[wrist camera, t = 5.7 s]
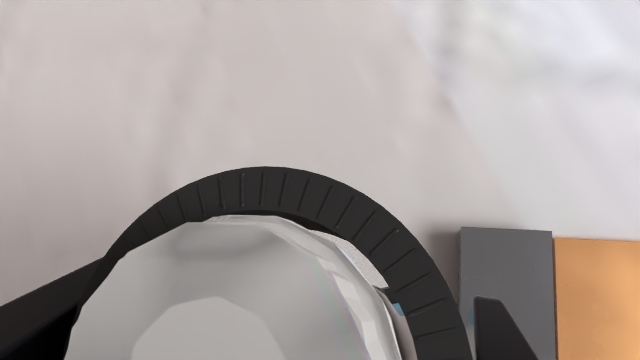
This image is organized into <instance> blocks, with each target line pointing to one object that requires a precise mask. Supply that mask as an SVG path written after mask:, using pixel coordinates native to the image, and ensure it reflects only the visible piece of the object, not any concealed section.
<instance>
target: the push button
mask: <svg viewBox="0 0 640 360" xmlns="http://www.w3.org/2000/svg"><path fill="white" fill-rule="evenodd" d="M310 230H315V231H320V232H324V233H328V234H331V235H334V236H337V237H339V238H342V239H344V240H347V241H348V242H350V243H351V244H352V245H354V246H355V247H356V248H357V249H358V250H359V251H360V252H361V253H362V254H363V255H364V256H365V257H366V258H367V259H369V261H370V262H371V263H372V264H373V265H374V267H375V268H376V269H377V270H378V271H379V273H380V274H381V275H382V276H383V278H384V279H385V281H386V283H387V284H388V286H389V287H385V288H378V287H377V286H374V285H371V284H370V283H369V282H368V280H367V279H366V278H365V276H364V275H363V274H362V273H361V271H360V270H359V269H358V267H357V266H356V265H355V263H354V262H353V261H352V260H351V258H350V257H349V256H348V255H347V254H346V253H345V252H344V251H343V250H342V249H341V248H339V247H338V246H337V245H336V244H335V243H333V242H331V241H329V240H327V239H325V238H324V237H322V236H320V235H318V234H316V233H314V232H312V231H310ZM62 360H473V357H472V353H471V348H470V344H469V340H468V336H467V332H466V329H465V326H464V323H463V320H462V317H461V315H460V312H459V309H458V306H457V304H456V302H455V300H454V298H453V296H452V293H451V291H450V289H449V287H448V285H447V283H446V281H445V280H444V278H443V276H442V275H441V273H440V271H439V270H438V268H437V266H436V265H435V263H434V262H433V260H432V258H431V257H430V256H429V255H428V253H427V252H426V251H425V249H424V248H423V247H422V245H421V244H420V243H419V241H418V240H417V239H416V238H415V237H414V236H413V235H412V234H411V233H410V231H409V230H408V229H407V228H406V227H405V226H404V225H403V224H402V223H401V222H400V221H399V220H398V219H397V218H395V217H394V216H393V215H392V214H391V213H389V212H388V211H387V210H386V209H385V208H384V207H382V206H381V205H379V204H378V203H377V202H375V201H374V200H372V199H371V198H369V197H368V196H366V195H365V194H363V193H361V192H359V191H357V190H356V189H354V188H352V187H350V186H348V185H346V184H344V183H342V182H339V181H337V180H334V179H332V178H329V177H326V176H324V175H320V174H316V173H313V172H309V171H305V170H299V169H293V168H286V167H267V166H263V167H249V168H241V169H235V170H229V171H224V172H221V173H218V174H214V175H211V176H207V177H205V178H202V179H200V180H197V181H195V182H192V183H190V184H188V185H186V186H184V187H182V188H180V189H178V190H176V191H174V192H173V193H171V194H169V195H168V196H166V197H165V198H163V199H162V200H160V201H159V202H157V203H156V204H154V205H153V206H152V207H151V208H149V209H148V210H147V211H146V212H144V213H143V214H142V215H141V216H139V217H138V218H137V219H136V220H135V221H134V222H133V223H132V224H131V225H130V226H129V227H128V228H127V229H126V230H125V231H124V232H123V233H122V235H121V236H120V237H119V238H118V239H117V240H116V242H115V243H114V244H113V245H112V246H111V248H110V249H109V251H108V252H107V253H106V255H105V256H104V258H103V259H102V260H101V262H100V263H99V265H98V267H97V268H96V270H95V272H94V273H93V275H92V277H91V278H90V280H89V282H88V284H87V286H86V288H85V290H84V292H83V294H82V296H81V298H80V301H79V303H78V306H77V310H76V313H75V316H74V319H73V322H72V325H71V328H70V331H69V334H68V337H67V340H66V342H65V346H64V351H63V356H62Z"/></svg>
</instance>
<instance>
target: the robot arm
mask: <svg viewBox="0 0 640 360" xmlns="http://www.w3.org/2000/svg"><path fill="white" fill-rule="evenodd" d="M103 258H104V257H102V258H100V259H98V260H96V261H94V262H92V263H90V264H88V265H86V266H84V267H82V268H80V269H77V270H75V271H73V272H71V273H69V274H67V275H65V276H63V277H61V278H59V279H57V280H55V281H52V282H50V283H48V284H46V285H44V286H42V287H40V288H38V289H36V290H34V291H32V292H30V293H27V294H25V295H23V296H21V297H19V298H17V299H15V300H13V301H11V302H9V303H7V304H5V305H2V306H0V360H62V356H63V351H64V346H65V342H66V340H67V337H68V334H69V331H70V328H71V325H72V322H73V319H74V316H75V313H76V310H77V306H78V303H79V301H80V298H81V296H82V294H83V292H84V290H85V288H86V286H87V284H88V282H89V280H90V278H91V277H92V275H93V273H94V272H95V270H96V268H97V267H98V265H99V263H100V262H101V260H102V259H103ZM466 332H467V336H468V340H469V344H470V348H471V353H472V357H473V360H540V359H539V358H538V356H537V354H536V353H535V351H534V350H533V348H532V347H531V345H530V343H529V342H528V340H527V339H526V337H525V336H524V334H523V332H522V331H521V329H520V328H519V326H518V325H517V323H516V321H515V320H514V318H513V317H512V315H511V314H510V312H509V310H508V309H507V307H506V306H505V304H504V303H503V301H502V300H500V299H498V298H493V297H486V296H480V295H475V296H474V297H473V298H472V301H471V306H470V311H469V317H468V322H467V327H466Z"/></svg>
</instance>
